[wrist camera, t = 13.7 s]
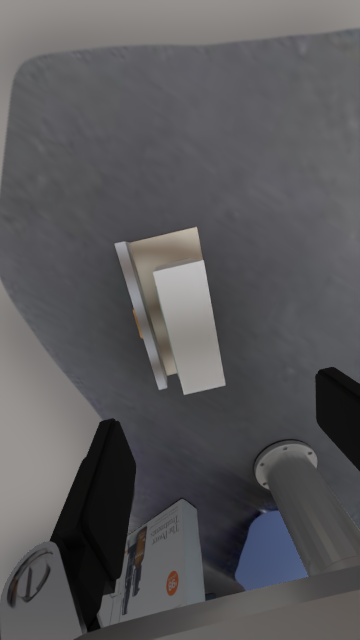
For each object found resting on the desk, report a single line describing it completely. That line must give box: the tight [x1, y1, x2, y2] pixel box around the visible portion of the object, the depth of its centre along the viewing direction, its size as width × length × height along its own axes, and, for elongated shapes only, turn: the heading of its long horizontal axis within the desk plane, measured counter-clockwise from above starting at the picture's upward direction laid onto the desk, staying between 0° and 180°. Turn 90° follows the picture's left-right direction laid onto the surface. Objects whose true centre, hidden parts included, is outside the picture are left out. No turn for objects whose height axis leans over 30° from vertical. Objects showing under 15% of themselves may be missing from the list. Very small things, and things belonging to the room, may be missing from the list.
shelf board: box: [115, 227, 203, 390], centre depth 28 cm, size 20×10×5 cm, turn 13°
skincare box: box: [100, 499, 205, 627], centre depth 38 cm, size 21×5×16 cm, turn 132°
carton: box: [153, 259, 225, 395], centre depth 25 cm, size 5×13×10 cm, turn 12°
